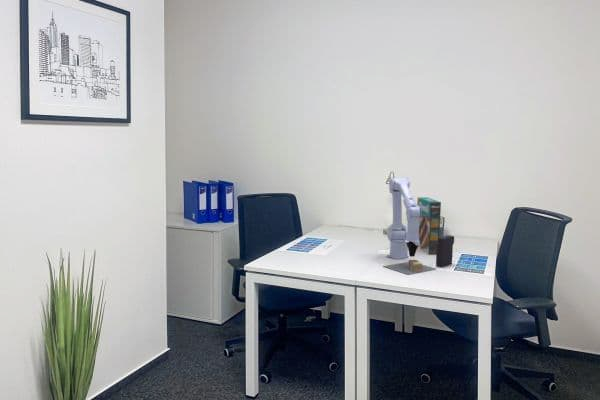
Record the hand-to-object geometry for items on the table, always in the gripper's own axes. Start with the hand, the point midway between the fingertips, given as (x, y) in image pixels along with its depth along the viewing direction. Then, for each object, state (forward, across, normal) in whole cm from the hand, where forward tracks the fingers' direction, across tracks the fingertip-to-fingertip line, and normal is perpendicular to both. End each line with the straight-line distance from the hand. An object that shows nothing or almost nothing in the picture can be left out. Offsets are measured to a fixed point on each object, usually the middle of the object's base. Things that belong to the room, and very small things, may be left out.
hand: (412, 256), depth 265 cm
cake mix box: (+6, -37, +24) cm, 44 cm away
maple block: (+3, +1, 0) cm, 4 cm away
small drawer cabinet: (+6, -3, +19) cm, 20 cm away
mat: (+6, +1, -2) cm, 6 cm away
